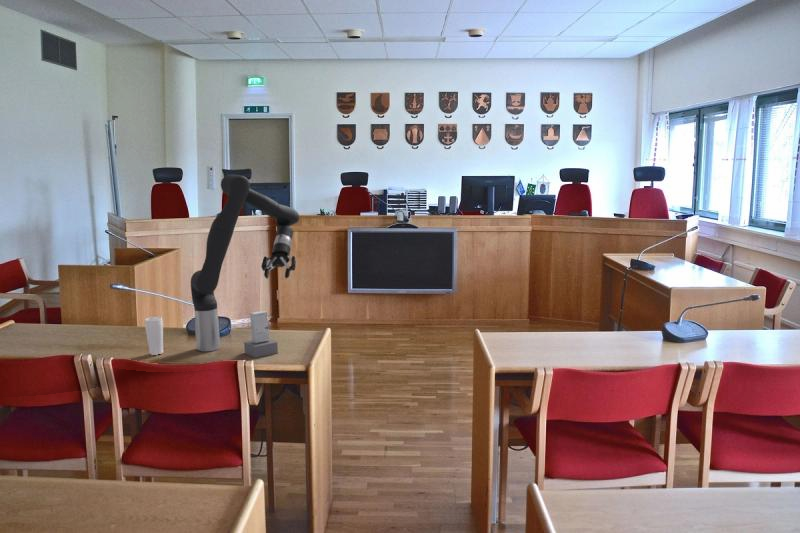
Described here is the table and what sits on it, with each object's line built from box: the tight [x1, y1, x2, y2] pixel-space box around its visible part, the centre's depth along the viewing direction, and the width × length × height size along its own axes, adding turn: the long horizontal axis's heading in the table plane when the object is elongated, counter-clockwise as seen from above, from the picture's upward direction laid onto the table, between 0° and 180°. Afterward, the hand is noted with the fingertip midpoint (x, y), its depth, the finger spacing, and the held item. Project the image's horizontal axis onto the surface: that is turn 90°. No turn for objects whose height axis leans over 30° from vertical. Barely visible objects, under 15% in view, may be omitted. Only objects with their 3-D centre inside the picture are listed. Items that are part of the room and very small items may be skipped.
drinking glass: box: [144, 316, 164, 356], centre depth 268 cm, size 7×7×15 cm
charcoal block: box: [243, 338, 279, 359], centre depth 267 cm, size 10×10×5 cm
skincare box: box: [249, 310, 270, 343], centre depth 266 cm, size 6×4×12 cm
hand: (276, 277), depth 277 cm, fingers open, 8 cm apart
